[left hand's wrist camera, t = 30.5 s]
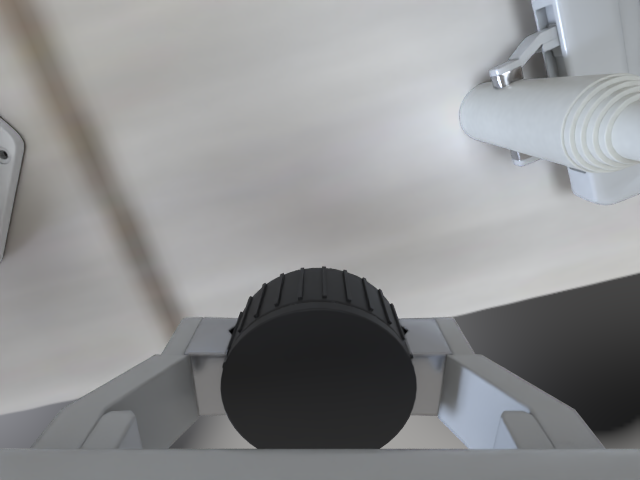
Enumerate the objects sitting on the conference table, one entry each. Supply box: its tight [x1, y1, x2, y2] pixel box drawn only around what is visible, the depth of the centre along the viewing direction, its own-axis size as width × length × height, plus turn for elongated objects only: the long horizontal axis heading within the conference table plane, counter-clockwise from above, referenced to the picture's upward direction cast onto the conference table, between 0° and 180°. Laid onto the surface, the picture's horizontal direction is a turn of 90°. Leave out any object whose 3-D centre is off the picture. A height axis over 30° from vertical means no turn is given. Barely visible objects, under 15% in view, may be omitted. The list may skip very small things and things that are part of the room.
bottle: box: [459, 73, 640, 173], centre depth 27 cm, size 5×5×21 cm
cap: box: [220, 267, 417, 449], centre depth 9 cm, size 4×4×2 cm
